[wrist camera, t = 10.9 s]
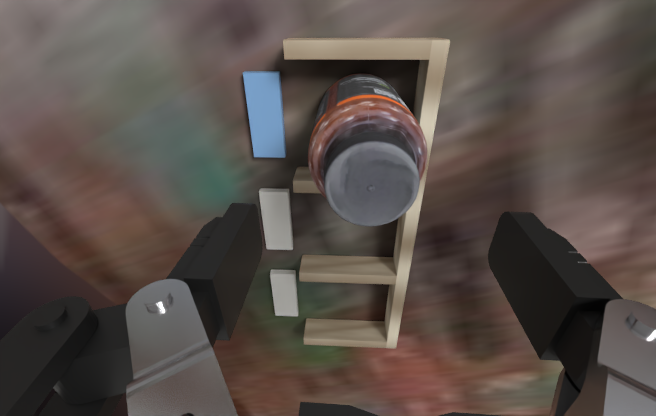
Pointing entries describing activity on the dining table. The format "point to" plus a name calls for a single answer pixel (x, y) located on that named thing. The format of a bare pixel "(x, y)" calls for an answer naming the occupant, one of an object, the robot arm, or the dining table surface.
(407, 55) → the divider rack
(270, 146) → the bezel tiles
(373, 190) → the supplement bottle
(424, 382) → the dining table surface
